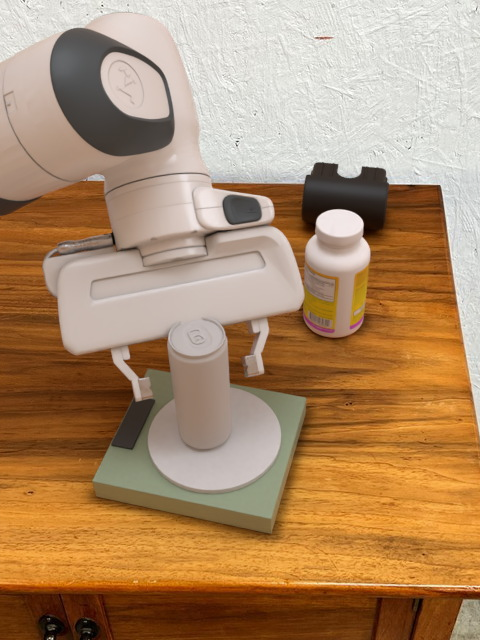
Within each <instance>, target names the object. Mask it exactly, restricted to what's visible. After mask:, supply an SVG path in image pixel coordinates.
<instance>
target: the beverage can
mask: <svg viewBox="0 0 480 640" xmlns="http://www.w3.org/2000/svg"><path fill="white" fill-rule="evenodd" d="M201 318H202V319H203V320H198V321H192V322H187V323H184V324H181V325H180V323H181V321H179V322H178V323H176V324H175V325H174V326H173V327H172V328H171V330H170V332H169V334H168V338H167V356H168V361H169V362H168V363H169V370H170V372H171V379H172V386H173V393H174V400H175V406H176V413H177V420H178V428H179V434H180V437H181V438H182V440H183V441H184V442H185V443H186V444H187V445H189V446H191V447H194V448H197V449H211V448H215V447H217V446H219V445H221V444H222V443H223V442H225V441H226V440H227V438H228V437H229V436H230V433H231V431H232V418H231V399H230V384H231V382H230V362H229V361H230V359H229V346H228V345H229V343H228V336H226V334H227V333H226V331H225V328H224V326H221V324H220V323H218V322H217V321H215V320H213V319H210V318H207V317H201Z"/></svg>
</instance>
